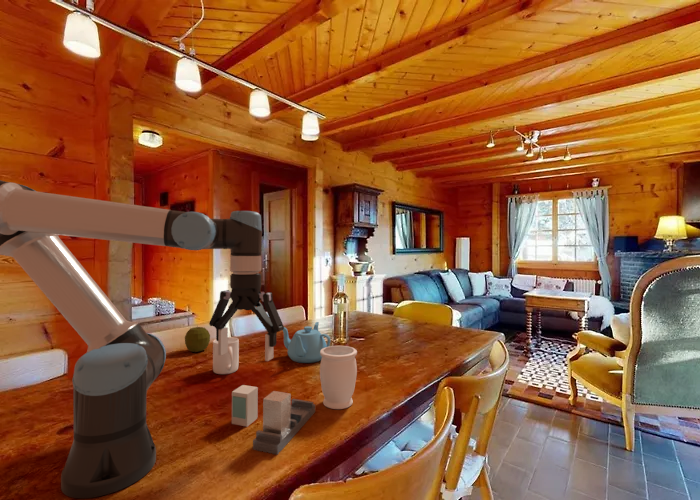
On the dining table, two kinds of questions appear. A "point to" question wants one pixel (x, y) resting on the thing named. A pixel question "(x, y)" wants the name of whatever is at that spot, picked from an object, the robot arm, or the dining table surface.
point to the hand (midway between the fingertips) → (245, 356)
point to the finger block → (244, 405)
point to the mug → (226, 357)
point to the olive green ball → (197, 339)
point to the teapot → (306, 344)
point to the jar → (338, 375)
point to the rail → (295, 422)
